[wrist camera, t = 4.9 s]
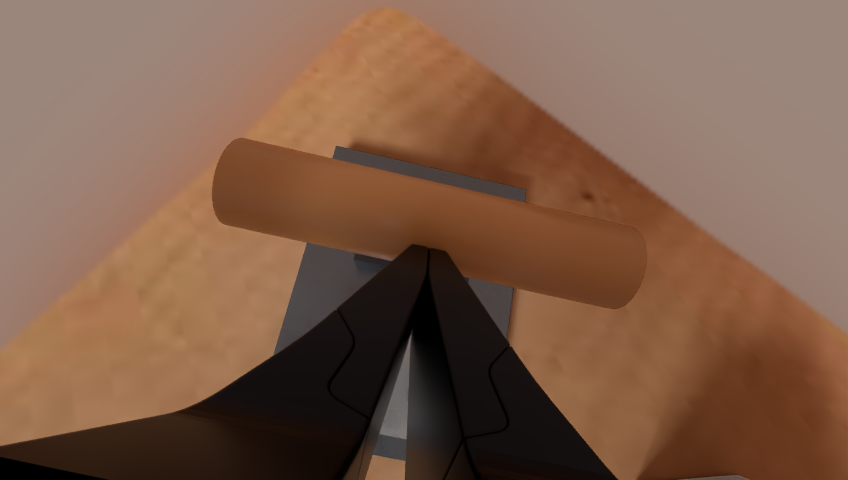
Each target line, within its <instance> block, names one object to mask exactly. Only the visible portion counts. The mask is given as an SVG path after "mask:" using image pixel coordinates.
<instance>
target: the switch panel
mask: <svg viewBox="0 0 848 480" xmlns="http://www.w3.org/2000/svg"><path fill="white" fill-rule="evenodd" d="M333 159H337V160H341V161H346V162H350V163H354V164H359V165H363V166H367V167H372V168H376V169H381V170H385V171H389V172H394V173H398V174H402V175H407V176H411V177H416V178H420V179H424V180H429V181H433V182H437V183H442V184H446V185H451V186H455V187H459V188H464V189H468V190H472V191H477V192H481V193H485V194H490V195H494V196H499V197H503V198H507V199H512V200H516V201H520V202H525V196H526V189H522V188H517V187H513V186H509V185H504V184H500V183H496V182H491V181H487V180H483V179H478V178H474V177H470V176H465V175H461V174H457V173H452V172H448V171H444V170H439V169H435V168H431V167H426V166H422V165H417V164H413V163H409V162H404V161H400V160H396V159H391V158H387V157H383V156H378V155H374V154H370V153H365V152H361V151H357V150H352V149H348V148H344V147H339V146H336V148H335V152H334V155H333ZM390 262H391V261H389V260H384V259H380V258H375V257H371V256H366V255H361V254H357V253H352V252H348V251H343V250H338V249H334V248H329V247H325V246H320V245H316V244H311V243H307V245H306V248H305V252H304V255H303V258H302V262H301V265H300V268H299V272H298V275H297V278H296V282H295V285H294V288H293V292H292V295H291V298H290V302H289V305H288V308H287V312H286V315H285V318H284V322H283V325H282V328H281V332H280V335H279V338H278V341H277V345H276V348H275V351H274V355H275V354H277V353H278V352H280V351H281V350H283V349H284V348H286V347H287V346H288V345H290V344H291V343H293V342H294V341H296V340H297V339H298V338H300V337H301V336H303V335H304V334H306V333H307V332H308V331H309V330H311V329H312V328H313V327H315V326H316V325H317V324H318V323H320V322H321V321H322V320H323V319H324V318H326V317H327V316H328V315H329V314H330V313H331V312H333V311H334V310H336V309H337V307H339V306H340V305H341V304H342V303H343V302H344V301H346V300H347V299H348V298H349V297H350V296H351V295H353V294H354V293H355V292H356V291H357V290H358V289H360V288H361V287H362V286H363V285H364V284H365V283H367V282H368V281H369V280H370V279H371V278H372V277H374V276H375V275H376V274H377V273H378V272H379V271H381V270H382V269H383V268H384V267H385V266H386V265H388V264H389V263H390ZM464 278H465V279H466V281H467V282H468V284H469V285H470V287H471V288H472V290H473V291H474V292H475V294H476V295H477V297H478V298H479V300H480V301H481V303H482V304H483V306H484V307H485V309H486V310H487V312H488V313H489V315H490V316H491V317H492V319H493V320H494V322H495V323H496V325H497V326H498V328H499V329H500V331H501V332H502V334H503V335H504V337H505V338H506V339H507V332H508V324H509V317H510V309H511V302H512V294H513V287H508V286H504V285H499V284H494V283H490V282H485V281H481V280H476V279H471V278H467V277H464ZM411 333H412V332H411ZM410 343H411V335H410V339H409V343H408V346H407V349H406V352H405V355H404V359H403V362H402V365H401V368H400V371H399V374H398V377H397V380H396V383H395V387H394V390H393V393H392V396H391V399H390V402H389V405H388V408H387V412H386V415H385V418H384V421H383V424H382V427H381V430H380V433H379V436H378V440H377V443H376V446H375V449H374V452H373V455H378V456H383V457H388V458H393V459H398V460H403V461H406V439H407V414H408V390H409V365H410ZM274 355H273V356H274Z"/></svg>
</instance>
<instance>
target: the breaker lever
mask: <svg viewBox="0 0 848 480" xmlns="http://www.w3.org/2000/svg"><path fill="white" fill-rule="evenodd" d="M212 201H213V207H214V211H215V214H216V216H217V218H218V219H219V221H220V222H221V223H223V224H225V225H228V226H233V227H238V228H242V229H247V230H251V231H256V232H261V233H265V234H270V235H274V236H279V237H283V238H288V239H293V240H297V241H302V242H306V243H311V244H316V245H320V246H325V247H329V248H334V249H338V250H343V251H348V252H352V253H357V254H361V255H366V256H371V257H375V258H380V259H384V260H389V261H392V260H393V259H395V258H396V257H397V256H398V255H399V254H400V253H402V252H403V251H404V250H405V249H406V248H407V247H409V246H410V245H411V244H417V245H422V246H426V247H428V249H430V248H435V249H440V250H444V251H446V252H447V253H448V254H449V256H450V257H451V259H452V260H453V262H454V263H455V265H456V266H457V267H458V269H459V270H460V272H461V273H462V275H463V276H464V277H467V278H471V279H476V280H481V281H485V282H490V283H494V284H499V285H504V286H508V287H513V288H517V289H522V290H527V291H531V292H536V293H540V294H545V295H549V296H554V297H559V298H563V299H568V300H572V301H577V302H582V303H586V304H591V305H595V306H600V307H604V308H609V309H618V308H621V307H623V306H625V305H626V304H627V303H628V302H629V301H630V300H631V299H632V298H633V297H634V295H635V294H636V292H637V291H638V289H639V287H640V285H641V282H642V280H643V277H644V273H645V268H646V258H647V254H646V246H645V242H644V239H643V237H642V235H641V234H640V232H639V231H638V230H637V229H635V228H633V227H630V226H625V225H621V224H617V223H612V222H608V221H604V220H599V219H595V218H590V217H586V216H582V215H577V214H573V213H569V212H564V211H560V210H555V209H551V208H547V207H542V206H538V205H534V204H529V203H525V202H520V201H516V200H512V199H507V198H503V197H499V196H494V195H490V194H485V193H481V192H477V191H472V190H468V189H464V188H459V187H455V186H451V185H446V184H442V183H437V182H433V181H429V180H424V179H420V178H416V177H411V176H407V175H402V174H398V173H394V172H389V171H385V170H381V169H376V168H372V167H367V166H363V165H359V164H354V163H350V162H346V161H341V160H337V159H333V158H328V157H324V156H319V155H315V154H311V153H306V152H302V151H298V150H293V149H289V148H284V147H280V146H276V145H271V144H267V143H263V142H258V141H254V140H249V139H245V138H238V139H235V140H234V141H232V142H231V143H230V144H229V145H228V146H227V147H226V149H225V150H224V152H223V153H222V155H221V157H220V159H219V162H218V164H217V167H216V170H215V174H214V179H213V187H212Z"/></svg>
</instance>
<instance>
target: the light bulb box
mask: <svg viewBox="0 0 848 480" xmlns="http://www.w3.org/2000/svg"><path fill="white" fill-rule="evenodd" d="M679 480H750V479H747V478H745V477H742V476H739V475H728V476H715V477H703V478H691V479H679Z"/></svg>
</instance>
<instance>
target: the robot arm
mask: <svg viewBox="0 0 848 480" xmlns="http://www.w3.org/2000/svg"><path fill="white" fill-rule="evenodd" d="M411 332H412V333H411ZM410 335H411V343H410V365H409V390H408V414H407V439H406V464H405V480H618V479H617V478H616V477H615V476H614V475H613V474H612V472H611V471H610V470H609V469H608V468H607V467H606V466H605V465H604V463H603V462H602V461H601V460H600V459H599V457H598V456H597V455H596V454H595V453H594V451H593V450H592V449H591V448H590V447H589V445H588V444H587V443H586V442H585V441H584V439H583V438H582V437H581V436H580V435H579V433H578V432H577V431H576V430H575V429H574V427H573V426H572V425H571V424H570V423H569V421H568V420H567V419H566V418H565V417H564V415H563V414H562V413H561V412H560V411H559V409H558V408H557V407H556V406H555V405H554V403H553V402H552V401H551V400H550V398H549V397H548V396H547V394H546V393H545V392H544V391H543V389H542V388H541V387H540V386H539V384H538V383H537V382H536V381H535V379H534V378H533V377H532V375H531V374H530V372H529V371H528V370H527V368H526V367H525V365H524V364H523V363H522V361H521V360H520V358H519V357H518V355H517V354H516V353H515V351H514V350H513V348H512V347H510V344H509V342H508V341H507V340H506V338H505V337H504V335H503V334H502V332H501V331H500V329H499V328H498V326H497V325H496V323H495V322H494V320H493V319H492V317H491V316H490V315H489V313H488V312H487V310H486V309H485V307H484V306H483V304H482V303H481V301H480V300H479V298H478V297H477V295H476V294H475V292H474V291H473V290H472V288H471V287H470V285H469V284H468V282H467V281H466V279H465V278H464V276H463V275H462V273H461V272H460V270H459V269H458V267H457V266H456V265H455V263H454V262H453V260H452V259H451V257H450V256H449V254H448V253H447V252H446V251H444V250H440V249H435V248H430V249H428V247H426V246H422V245H417V244H411V245H410V246H409V247H407V248H406V249H405V250H404V251H403V252H402V253H400V254H399V255H398V256H397V257H396V258H395V259H393V260H392V261H391V262H390V263H389V264H388V265H386V266H385V267H384V268H383V269H382V270H381V271H379V272H378V273H377V274H376V275H375V276H374V277H372V278H371V279H370V280H369V281H368V282H367V283H365V284H364V285H363V286H362V287H361V288H360V289H358V290H357V291H356V292H355V293H354V294H353V295H351V296H350V297H349V298H348V299H347V300H346V301H344V302H343V303H342V304H341V305H340V306H339V307H337V309H336V310H334V311H333V312H331V313H330V314H329V315H328V316H327V317H326V318H324V319H323V320H322V321H321V322H320V323H318V324H317V325H316V326H315V327H313V328H312V329H311V330H309V331H308V332H307V333H306V334H304V335H303V336H301V337H300V338H298V339H297V340H296V341H294V342H293V343H291V344H290V345H288V346H287V347H286V348H284V349H283V350H281V351H280V352H278V353H277V354H275V355H274V356H272V357H270V358H269V359H267V360H266V361H264V362H263V363H261V364H260V365H258V366H257V367H255V368H254V369H252V370H251V371H249V372H248V373H246V374H245V375H243V376H241V377H240V378H238V379H237V380H235V381H234V382H232V383H231V384H229V385H228V386H226V387H225V388H223V389H222V390H220V391H218V392H217V393H215V394H213V395H212V396H210V397H208V398H206V399H204V400H202V401H201V402H199V403H197V404H194V405H192V406H190V407H187V408H185V409H182V410H179V411H176V412H172V413H168V414H164V415H159V416H153V417H148V418H143V419H138V420H133V421H127V422H122V423H117V424H112V425H107V426H102V427H96V428H91V429H86V430H81V431H76V432H70V433H65V434H60V435H55V436H50V437H45V438H39V439H34V440H29V441H24V442H19V443H13V444H8V445H3V446H0V480H365V477H366V474H367V471H368V468H369V464H370V461H371V458H372V455H373V452H374V449H375V446H376V443H377V440H378V436H379V433H380V430H381V427H382V424H383V421H384V418H385V415H386V412H387V408H388V405H389V402H390V399H391V396H392V393H393V390H394V387H395V383H396V380H397V377H398V374H399V371H400V368H401V365H402V362H403V359H404V355H405V352H406V349H407V346H408V343H409V339H410Z"/></svg>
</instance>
